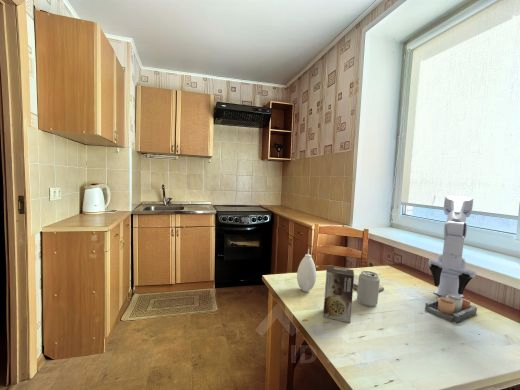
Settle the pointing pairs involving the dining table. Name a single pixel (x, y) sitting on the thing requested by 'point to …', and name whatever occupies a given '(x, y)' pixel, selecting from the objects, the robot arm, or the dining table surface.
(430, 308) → the grey tray
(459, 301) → the grey jar
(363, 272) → the can
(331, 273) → the coffee box
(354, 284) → the washcloth
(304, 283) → the sauce bottle
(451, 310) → the terracotta jar
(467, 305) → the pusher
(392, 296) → the dining table surface
